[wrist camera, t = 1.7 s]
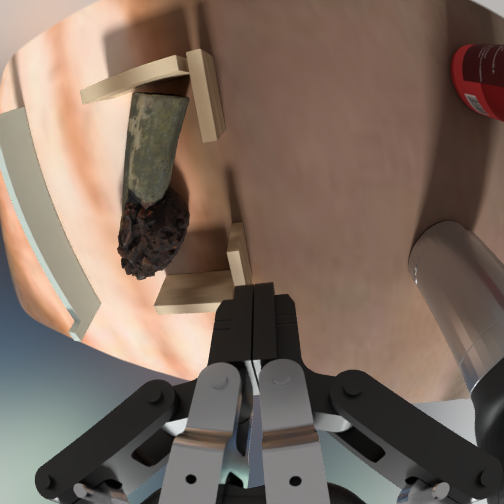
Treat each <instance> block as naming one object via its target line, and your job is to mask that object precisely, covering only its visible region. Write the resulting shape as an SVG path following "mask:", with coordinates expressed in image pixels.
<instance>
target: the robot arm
mask: <svg viewBox="0 0 504 504" xmlns="http://www.w3.org/2000/svg"><path fill="white" fill-rule="evenodd" d="M408 266H409V272H410V274H411V277H412V278H413V280H414V282H415V283H416V285H417V287H418V288H419V290H420V292H421V294H422V295H423V297H424V299H425V301H426V303H427V304H428V306H429V308H430V310H431V312H432V314H433V315H434V317H435V319H436V321H437V323H438V325H439V327H440V329H441V331H442V333H443V335H444V337H445V339H446V341H447V343H448V345H449V347H450V349H451V351H452V353H453V356H454V358H455V360H456V362H457V364H458V367H459V369H460V371H461V373H462V376H463V378H464V381H465V383H466V386H467V388H468V391H469V393H470V396H471V399H472V402H473V404H474V408H475V436H476V441H477V446H475V445H474V444H472V443H470V442H469V441H467V440H466V439H464V438H462V437H461V436H459V435H457V434H456V433H454V432H453V431H451V430H450V429H448V428H447V427H445V426H443V425H442V424H441V423H439V422H437V421H436V420H434V419H433V418H431V417H430V416H428V415H427V414H425V413H424V412H422V411H421V410H419V409H418V408H416V407H415V406H413V405H412V404H410V403H409V402H407V401H406V400H404V399H403V398H401V397H400V396H399V395H397V394H396V393H394V392H393V391H391V390H390V389H388V388H387V387H385V386H384V385H383V384H381V383H380V382H378V381H377V380H375V379H374V378H372V377H371V376H370V375H368V374H367V373H365V372H363V371H360V370H347V371H344V372H341V373H340V374H338V375H337V376H336V377H335V376H329V375H322V374H318V373H315V372H313V371H311V370H310V369H308V368H307V367H306V366H305V364H304V363H303V361H302V358H301V350H300V342H299V333H298V325H297V317H296V310H295V303H294V301H293V300H292V299H291V297H290V296H289V295H288V294H282V295H275V291H274V283H273V282H269V283H260V284H255V287H254V284H250V285H240V286H235V288H234V297H233V299H229V300H223V301H222V302H221V304H220V305H219V307H218V308H217V310H216V315H215V322H214V328H213V334H212V340H211V347H210V353H209V360H208V365H207V367H206V368H204V369H203V370H202V371H201V373H200V374H199V376H198V378H196V379H195V380H193V381H190V382H187V383H183V384H179V385H176V386H171V385H170V384H169V383H168V382H166V381H164V380H152V381H149V382H147V383H145V384H144V385H143V386H141V387H140V388H139V389H138V390H137V391H136V392H134V393H133V394H132V395H131V396H130V397H128V398H127V399H126V400H125V401H124V402H122V403H121V404H120V405H119V406H117V407H116V408H115V409H114V410H113V411H111V412H110V413H109V414H108V415H106V416H105V417H104V418H103V419H101V420H100V421H99V422H98V423H96V424H95V425H94V426H93V427H92V428H90V429H89V430H88V431H87V432H85V433H84V434H83V435H81V436H80V437H79V438H78V439H76V440H75V441H74V442H73V443H71V444H70V445H69V446H67V447H66V448H65V449H64V450H62V451H61V452H60V453H58V454H57V455H56V456H54V457H53V458H52V459H51V460H49V461H48V462H47V463H45V464H44V465H43V466H41V467H40V468H39V469H38V470H37V472H36V475H35V485H36V488H37V490H38V492H39V493H40V494H41V496H43V497H44V498H46V499H49V500H51V501H54V502H57V503H59V504H130V503H129V501H128V499H127V495H128V494H130V493H131V492H132V491H134V490H135V489H136V488H138V487H139V486H140V485H141V484H143V483H144V482H145V481H146V480H148V479H149V478H150V477H151V476H152V475H154V474H155V473H156V472H157V471H159V470H160V469H161V468H162V467H163V466H165V465H166V464H167V463H168V465H167V469H166V473H165V477H164V481H163V486H162V488H160V489H158V490H157V491H155V492H154V493H153V494H151V495H150V496H149V497H148V498H147V499H145V500H144V501H143V502H142V503H141V504H366V503H365V502H364V501H362V500H361V499H360V498H359V497H358V496H357V495H355V494H354V493H352V492H351V491H349V490H348V489H346V488H344V487H341V486H339V485H336V484H333V483H328V482H327V481H326V475H325V469H324V463H323V458H322V453H321V447H320V442H319V437H318V434H317V431H316V430H315V429H319V430H325V431H327V432H328V433H329V434H330V435H331V436H332V437H333V438H335V439H336V440H337V441H338V442H340V443H341V444H342V445H343V446H345V447H346V448H347V449H348V450H349V451H351V452H352V453H353V454H354V455H356V456H357V457H358V458H360V459H361V460H362V461H364V462H365V463H366V464H368V465H369V466H370V467H371V468H373V469H374V470H375V471H377V472H378V473H379V474H381V475H382V476H384V477H385V478H386V479H388V480H389V481H391V482H392V483H393V484H395V485H396V486H398V487H399V488H401V489H402V491H401V492H400V494H399V496H398V498H397V504H472V503H473V502H476V501H479V500H482V499H485V498H487V503H488V504H504V264H503V263H502V262H501V261H500V260H499V259H498V258H497V257H496V255H495V254H494V253H493V252H492V251H491V250H490V249H489V248H488V247H487V246H486V245H485V244H484V243H483V242H482V241H481V240H480V239H479V237H478V236H477V235H476V234H475V233H474V232H472V231H471V230H466V229H465V228H464V227H463V226H462V225H461V224H459V223H457V222H455V221H443V222H440V223H437V224H436V225H434V226H432V227H430V228H429V229H428V230H427V231H425V232H424V233H423V235H422V236H421V237H420V238H419V239H418V241H417V242H416V243H415V245H414V247H413V249H412V251H411V254H410V257H409V265H408ZM253 395H260V404H261V416H262V428H263V439H262V454H263V465H264V478H265V485H262V486H258V487H254V488H249V489H248V488H247V486H248V477H249V463H248V454H249V446H250V437H251V428H252V420H253Z"/></svg>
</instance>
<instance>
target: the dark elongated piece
mask: <svg viewBox="0 0 504 504" xmlns="http://www.w3.org/2000/svg"><path fill="white" fill-rule="evenodd" d="M188 102H189V98H188V97H183V96H180V95H174V94H162V93H149V92H134V93H133V94H132V101H131V109H130V116H129V123H128V131H127V142H126V151H125V164H124V183H123V204H122V217H121V222H120V231H119V235H118V241H119V247H118V248H117V250H118V253H119V254H120V256H121V257H122V259H121V265H122V268H125V271H126V274H127V275H130V274H132V276H134V275H135V276H136V277H137V279H138V280H143V279H146V277H151V276H154V275H155V272H157V271H159V270H161V271H162V270H163V269H164V268H165V267H167V266H168V265H169V264H170V263H171V262H172V259H173V257H174V256H175V255H176V254H177V253H178V252H177V251H178V250H179V249H180V245H181V244H182V242H183V241H184V237H185V234H186V233H187V227H188V226H189V216H190V213H189V211H188V207H187V205H186V204H185V202H184V201H183V200H182V199H181V197H180V196H179V194H177V193H176V192H175V191H174V190H173V189H172V188H169V187H168V186H169V183H170V181H171V175H172V169H173V164H174V159H175V154H176V148H177V143H178V138H179V135H180V131H181V128H182V124H183V120H184V117H185V113H186V109H187V106H188Z"/></svg>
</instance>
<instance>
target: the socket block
mask: <svg viewBox="0 0 504 504" xmlns="http://www.w3.org/2000/svg"><path fill="white" fill-rule="evenodd" d="M186 56H187V59H186V58H184V57H181V56H178V55H174V56H170V57H167V58H163V59H160V60H157V61H153V62H150V63H147V64H144V65H141V66H138V67H136V68H133V69H130V70H127V71H125V72H122V73H120V74H117V75H115V76H112V77H110V78H107V79H105V80H103V81H100V82H98V83H96V84H94V85H91V86H89V87H87V88H85V89H83V90H81V91H80V94H81V99H82V103H83V104H88V103H92V102H97V101H102V100H107V99H113V98H115V97H118V96H121V95H123V94H126V93H129V92H132V91H135V90H138V89H141V88H144V87H147V86H150V85H153V84H157V83H160V82H164V81H167V80H171V79H175V78H178V77H182V76H186V75H190V78H191V83H192V89H193V94H194V100H195V105H196V110H197V115H198V120H199V125H200V131H201V136H202V141H203V143H205V142H211V141H217V140H218V139H219V138H220V136H221V135H222V134H223V133H224V131H225V130H226V128H225V122H224V116H223V111H222V105H221V99H220V94H219V88H218V82H217V76H216V71H215V65H214V59H213V56H212V55H210V54H208V53H207V52H205V51H204V50H202V49H197V50H193V51H189V52H186ZM227 256H228V260H229V265H230V269H231V270H223V271H212V272H201V273H190V274H178V275H167V276H166V278H165V280H164V282H163V285H162V287H161V290H160V292H159V295H158V297H157V299H156V302H155V304H154V307H155V309H156V311H157V313H158V314H181V313H203V312H216V310H217V308H218V307H219V305H220V304H221V302H222V301H223V300H229V299H233V297H234V288H235V286H240V285H250V284H252V273H251V267H250V262H249V256H248V251H247V245H246V240H245V234H244V229H243V223H242V222H239V223H232V226H231V232H230V237H229V242H228V247H227Z"/></svg>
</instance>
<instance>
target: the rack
mask: <svg viewBox="0 0 504 504" xmlns="http://www.w3.org/2000/svg"><path fill="white" fill-rule="evenodd" d="M0 169H1V172H2V175H3V178H4V181H5V184H6V187H7V190H8V193H9V196H10V198H11V201H12V204H13V206H14V209H15V211H16V214H17V216H18V219H19V221H20V223H21V226H22V228H23V230H24V232H25V234H26V237H27V239H28V241H29V243H30V245H31V247H32V249H33V251H34V253H35V255H36V257H37V259H38V261H39V263H40V265H41V266H42V268H43V270H44V272H45V274H46V276H47V277H48V279H49V281H50V283H51V284H52V286H53V288H54V289H55V291H56V293H57V294H58V296H59V298H60V299H61V301H62V302H63V304H64V305H65V307H66V309H67V310H68V312H69V313H70V315H71V316H72V318H73V319H74V321H75V322H74V323H73V325H72V327H71V329H70V330H69V334H70V335H71V336H72V338H73V339H74V340H75V341H82V339H83V337H84V335H85V333H86V331H87V329H88V327H89V325H90V323H91V322H92V320H93V318H94V316H95V314H96V312H97V310H98V309H99V307H100V305H101V303H100V301H99V299H98V297H97V296H96V294H95V292H94V290H93V289H92V287H91V285H90V283H89V281H88V279H87V278H86V276H85V274H84V272H83V270H82V268H81V266H80V264H79V262H78V260H77V258H76V256H75V254H74V252H73V250H72V248H71V246H70V243H69V241H68V239H67V237H66V235H65V232H64V230H63V228H62V225H61V223H60V221H59V218H58V216H57V213H56V211H55V208H54V206H53V203H52V201H51V198H50V195H49V193H48V190H47V187H46V184H45V181H44V178H43V175H42V172H41V169H40V166H39V163H38V159H37V156H36V152H35V149H34V145H33V141H32V138H31V134H30V130H29V125H28V121H27V116H26V111H25V107H21V108H18V109H15V110H11V111H8V112H5V113H2V114H0Z"/></svg>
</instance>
